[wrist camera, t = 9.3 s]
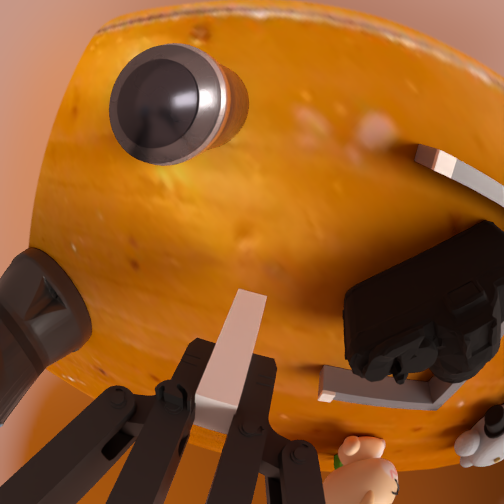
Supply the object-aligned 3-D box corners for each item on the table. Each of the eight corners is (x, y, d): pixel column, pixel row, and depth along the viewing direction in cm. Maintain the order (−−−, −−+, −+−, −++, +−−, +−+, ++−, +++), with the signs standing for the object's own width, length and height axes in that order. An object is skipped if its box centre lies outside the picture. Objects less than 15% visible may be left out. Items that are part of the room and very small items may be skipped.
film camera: (369, 362, 23) (375, 446, 15) (330, 286, 20) (330, 382, 12) (506, 297, 17) (548, 364, 9) (497, 204, 14) (570, 260, 6)
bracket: (319, 372, 24) (317, 400, 22) (418, 143, 14) (439, 150, 11) (431, 389, 23) (436, 413, 20) (540, 214, 13) (562, 230, 10)
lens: (157, 145, 18) (99, 160, 13) (169, 60, 15) (112, 45, 10) (242, 159, 17) (206, 179, 12) (260, 66, 14) (231, 40, 9)
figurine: (537, 406, 21) (532, 356, 20) (547, 439, 14) (552, 397, 13) (465, 452, 29) (437, 419, 28) (468, 486, 22) (443, 465, 21)
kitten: (369, 459, 33) (364, 535, 20) (313, 456, 34) (299, 536, 21) (415, 418, 26) (422, 520, 13) (346, 415, 27) (337, 529, 14)
